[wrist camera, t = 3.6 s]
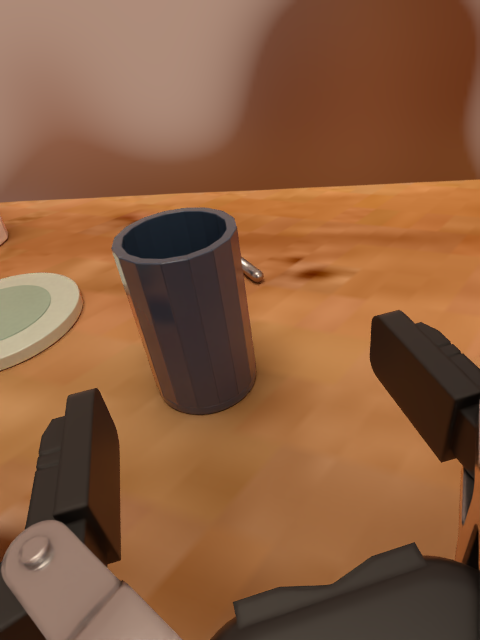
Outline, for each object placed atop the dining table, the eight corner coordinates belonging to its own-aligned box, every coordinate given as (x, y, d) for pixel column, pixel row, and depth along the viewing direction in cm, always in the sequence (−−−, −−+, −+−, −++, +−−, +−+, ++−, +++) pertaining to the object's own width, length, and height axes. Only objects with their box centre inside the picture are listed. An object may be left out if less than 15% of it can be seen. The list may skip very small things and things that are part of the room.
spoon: (241, 291, 35) (239, 281, 34) (169, 231, 46) (167, 222, 46) (280, 275, 36) (279, 265, 36) (201, 220, 48) (199, 211, 47)
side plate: (-91, 408, 29) (-101, 396, 28) (-81, 316, 38) (-88, 307, 38) (100, 331, 33) (96, 320, 32) (66, 266, 43) (62, 257, 42)
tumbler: (182, 432, 24) (135, 278, 18) (145, 370, 29) (98, 231, 23) (275, 384, 26) (259, 233, 20) (227, 334, 31) (202, 198, 25)
